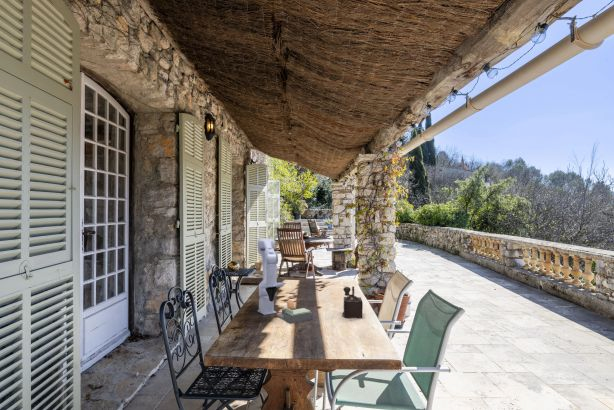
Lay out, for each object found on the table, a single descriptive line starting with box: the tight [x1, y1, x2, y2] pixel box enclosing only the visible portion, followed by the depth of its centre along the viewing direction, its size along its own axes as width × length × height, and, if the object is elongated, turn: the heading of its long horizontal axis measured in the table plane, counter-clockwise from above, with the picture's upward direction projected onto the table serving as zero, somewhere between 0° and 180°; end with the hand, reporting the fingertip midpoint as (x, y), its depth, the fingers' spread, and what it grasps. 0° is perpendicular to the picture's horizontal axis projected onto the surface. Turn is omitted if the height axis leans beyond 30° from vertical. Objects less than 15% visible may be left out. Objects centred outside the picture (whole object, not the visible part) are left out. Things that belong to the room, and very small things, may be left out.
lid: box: [285, 307, 311, 316], centre depth 193 cm, size 7×12×3 cm, turn 124°
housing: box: [275, 307, 314, 324], centre depth 196 cm, size 16×14×4 cm
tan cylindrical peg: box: [286, 300, 295, 310], centre depth 200 cm, size 4×4×7 cm
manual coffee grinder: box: [342, 286, 364, 319], centre depth 199 cm, size 16×11×18 cm
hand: (271, 301), depth 191 cm, fingers closed
